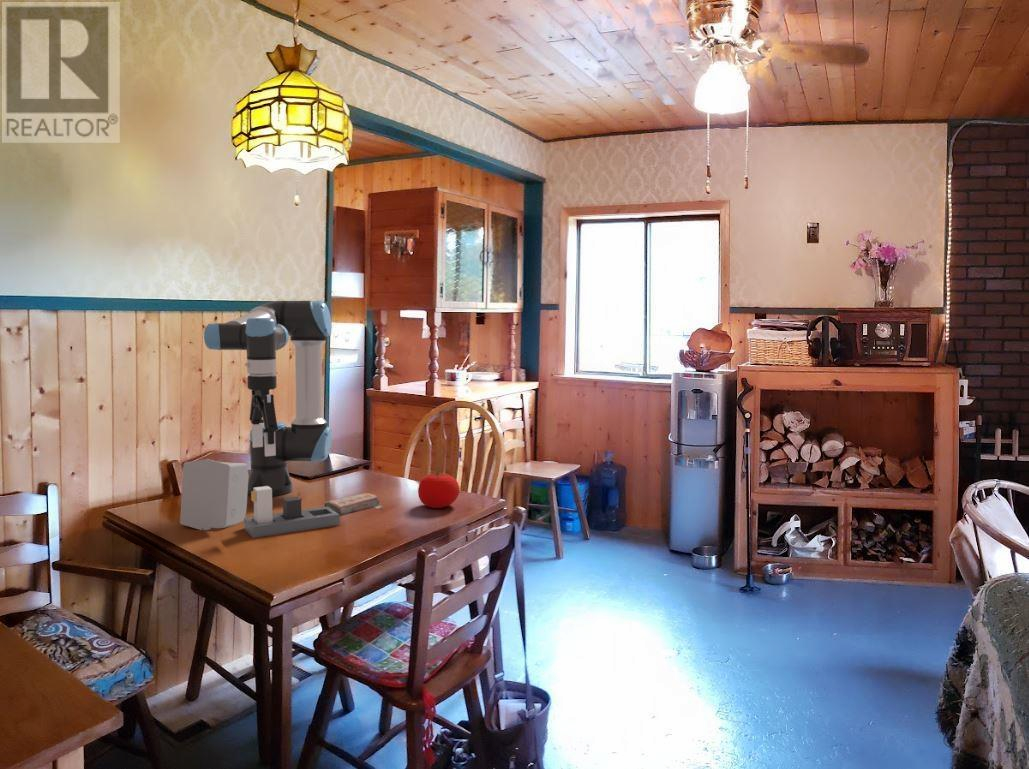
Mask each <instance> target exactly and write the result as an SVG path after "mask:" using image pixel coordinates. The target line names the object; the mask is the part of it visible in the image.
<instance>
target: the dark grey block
mask: <svg viewBox="0 0 1029 769" xmlns="http://www.w3.org/2000/svg"><path fill="white" fill-rule="evenodd" d="M301 510H302V499H301V498H300V497H299V496H291V497H288V496H287V497H283V498H282V513H283V518H284V519H285V520H288V519H295V518H301Z"/></svg>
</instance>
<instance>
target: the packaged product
mask: <svg viewBox="0 0 1029 769" xmlns="http://www.w3.org/2000/svg"><path fill="white" fill-rule="evenodd" d="M379 504H380V501H379V498H378V496H377V495H376V494H374V493H368V492H363V493H359V494H354V495H348V496H345V497H341V498H336V499H332V500H328V501H326V502H324V507H329V508H331V509H332V510H334V511H335V512H336V513H338V514H339V516H340V515H341V516H342V515H347V514H350V513H354V512H359V511H362V510H367V509H370V508H373V507H374V508H375V509H378V510H379V509H380V510H382V509H381V508H383V509H384V505H383V506H382V505H379Z"/></svg>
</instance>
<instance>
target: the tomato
mask: <svg viewBox="0 0 1029 769" xmlns="http://www.w3.org/2000/svg"><path fill="white" fill-rule="evenodd" d="M417 489H418V490H417V493H418V499H419V500H420V502H421V503H422V504H423V505H424V506H426V507H428V508H431V509H442V508H445V507H448V506H451V505H452V504H453V503H454V502H455V501H456V500H457V499H458V496H459V494H460V484H459V482H458V480H457V479H456V477H453V476H452V475H450V474H446V473H443V472H434V473H432V472H430V473H429V474H426V475H425V476H423V477H422V478H421V480H420V482H419V484H418V488H417Z"/></svg>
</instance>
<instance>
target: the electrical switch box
mask: <svg viewBox="0 0 1029 769" xmlns="http://www.w3.org/2000/svg"><path fill="white" fill-rule="evenodd" d="M182 466H183V468H182V469H183V470H182V481H181V482H182V484H181V499H180V500H181V501H180V517H179V523H180V525H182V526H186V527H190V528H193V529H197V530H199V531H209V530H212V528H213V529H224V528H225V529H226V528H229V527H232V526H235V525H237V524H239V523H241V522H244V518H246V515H247V514H246V513H247V509H248V508H247V505H248V494H247V492H248V477H249V470H248V464H247V463H245V462H243V463H242V462H241V463H240V462H229V461H226V462H225V461H218V460H212V459H209V458H206V459H204V458H203V459H199V460H192V461H186V462H184V463H183V465H182Z"/></svg>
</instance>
